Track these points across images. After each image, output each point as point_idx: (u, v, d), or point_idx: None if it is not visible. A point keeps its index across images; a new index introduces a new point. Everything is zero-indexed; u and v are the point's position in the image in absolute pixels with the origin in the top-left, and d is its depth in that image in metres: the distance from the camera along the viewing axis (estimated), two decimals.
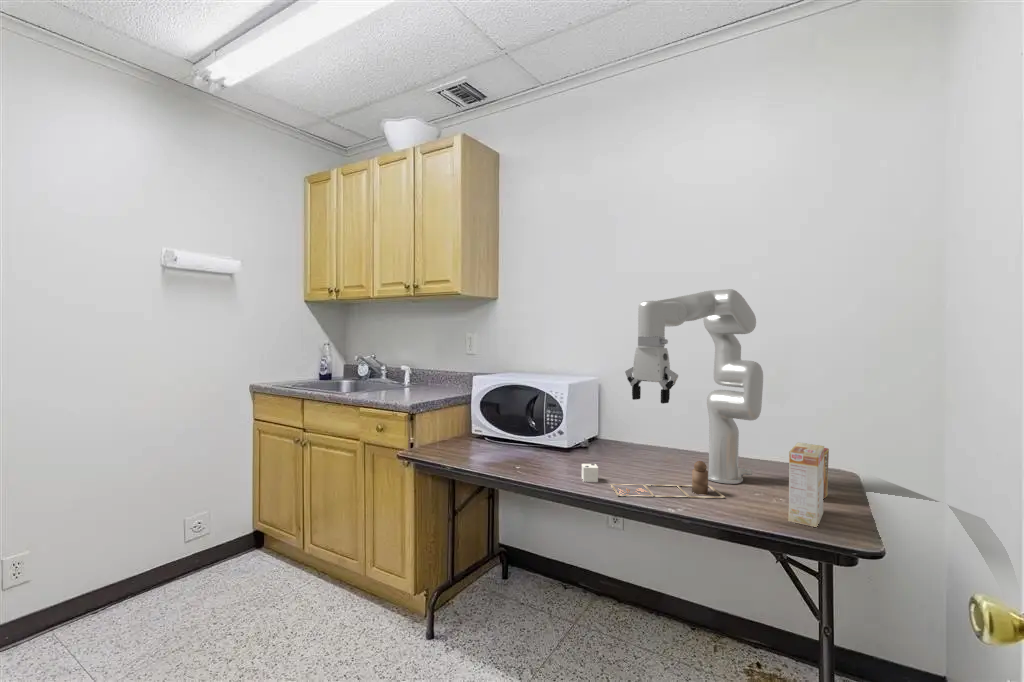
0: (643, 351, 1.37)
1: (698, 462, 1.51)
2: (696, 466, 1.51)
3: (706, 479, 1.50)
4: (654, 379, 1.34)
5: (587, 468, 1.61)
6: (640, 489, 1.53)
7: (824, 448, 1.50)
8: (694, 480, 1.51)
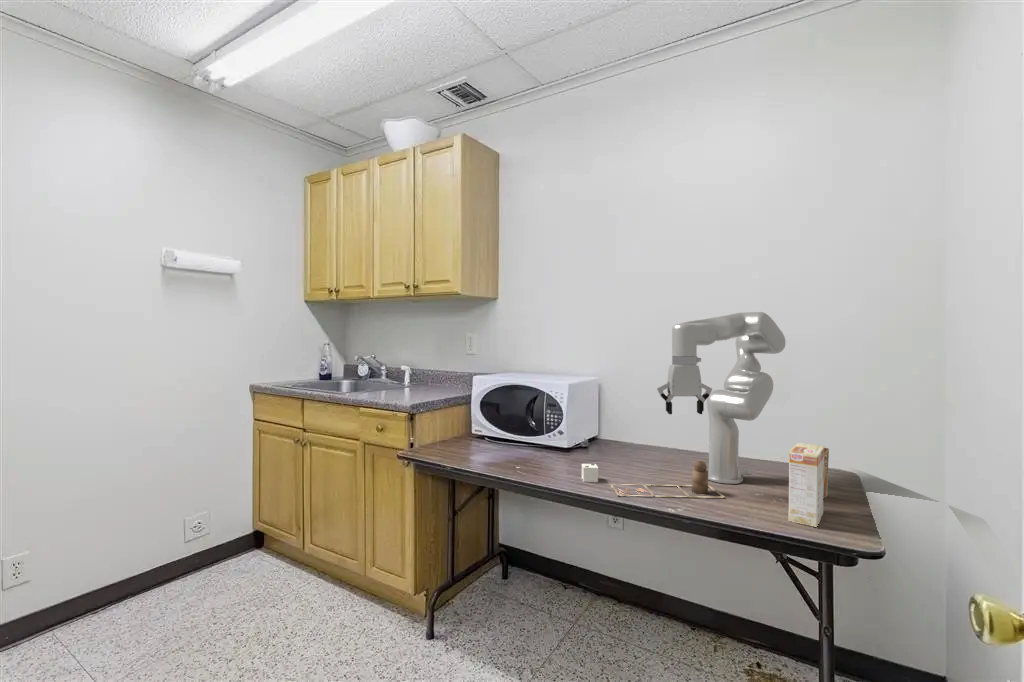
0: (684, 369, 1.51)
1: (698, 462, 1.51)
2: (696, 466, 1.51)
3: (706, 479, 1.50)
4: (695, 394, 1.51)
5: (587, 468, 1.61)
6: (640, 489, 1.53)
7: (824, 448, 1.50)
8: (694, 480, 1.51)
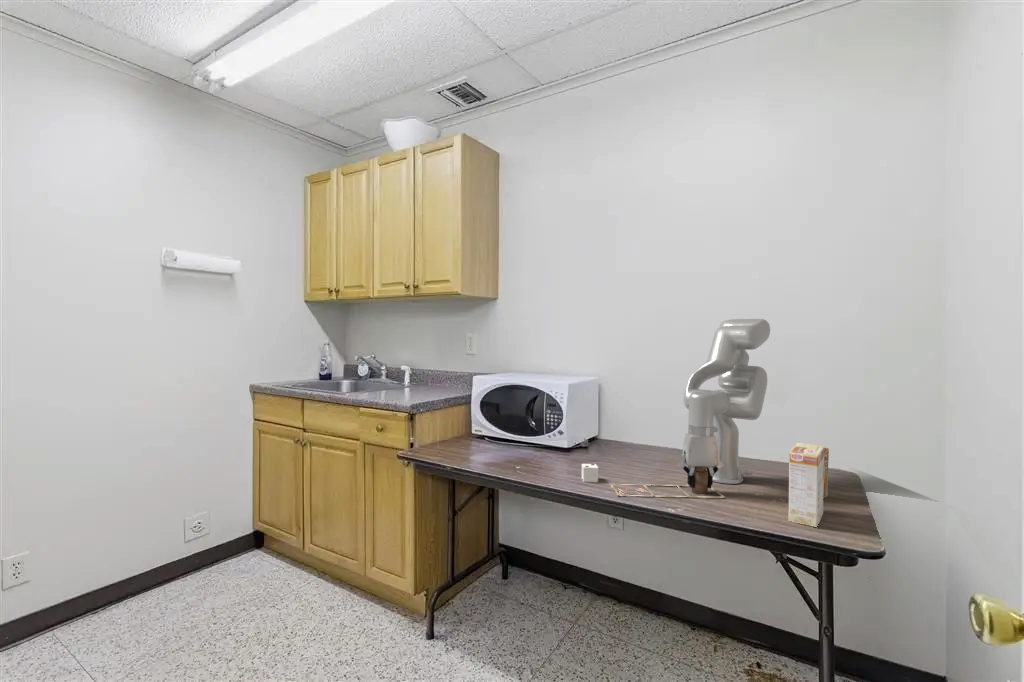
0: (701, 440, 1.49)
1: None
2: None
3: (705, 479, 1.50)
4: (711, 464, 1.50)
5: (587, 468, 1.61)
6: (640, 489, 1.53)
7: (824, 448, 1.50)
8: None
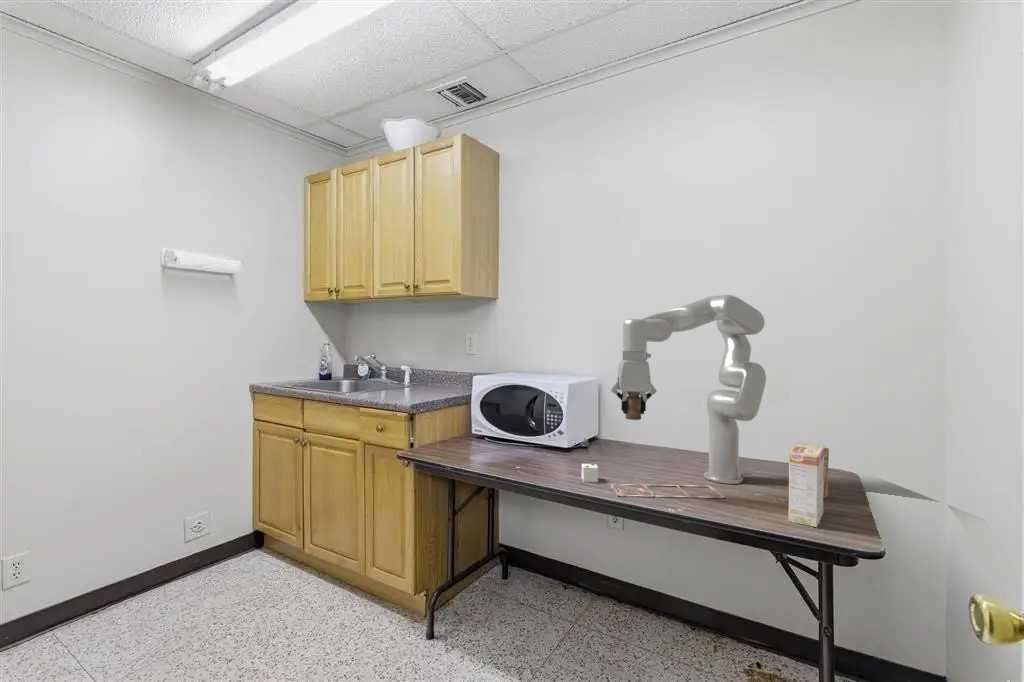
0: (633, 365, 1.49)
1: None
2: (629, 392, 1.51)
3: (638, 404, 1.50)
4: (643, 390, 1.50)
5: (587, 468, 1.61)
6: (640, 489, 1.53)
7: (824, 448, 1.50)
8: (627, 406, 1.51)
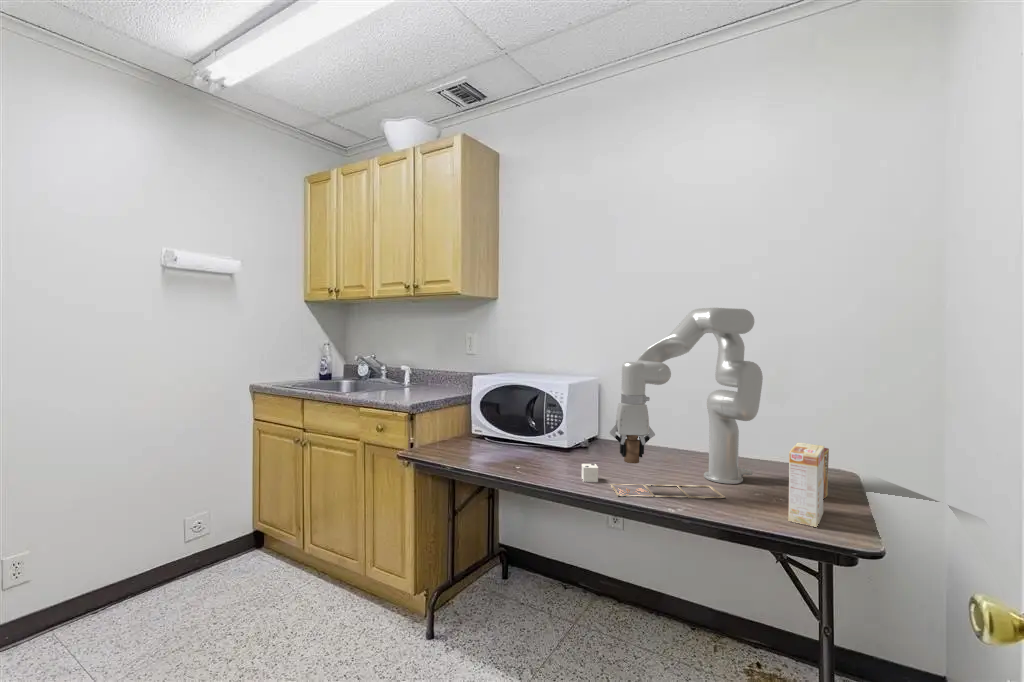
0: (632, 409, 1.49)
1: None
2: None
3: (636, 448, 1.50)
4: (642, 433, 1.50)
5: (587, 468, 1.61)
6: (640, 489, 1.53)
7: (824, 448, 1.50)
8: None
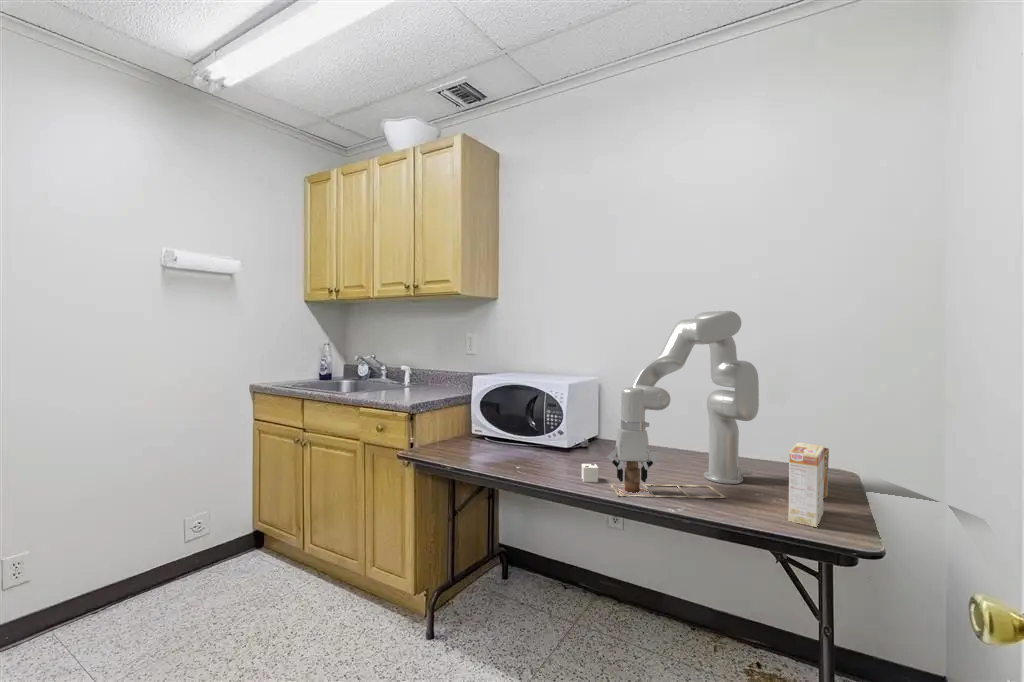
0: (632, 435, 1.50)
1: None
2: (628, 464, 1.51)
3: (637, 477, 1.50)
4: (642, 459, 1.50)
5: (587, 468, 1.61)
6: (640, 489, 1.53)
7: (824, 448, 1.50)
8: (626, 478, 1.51)
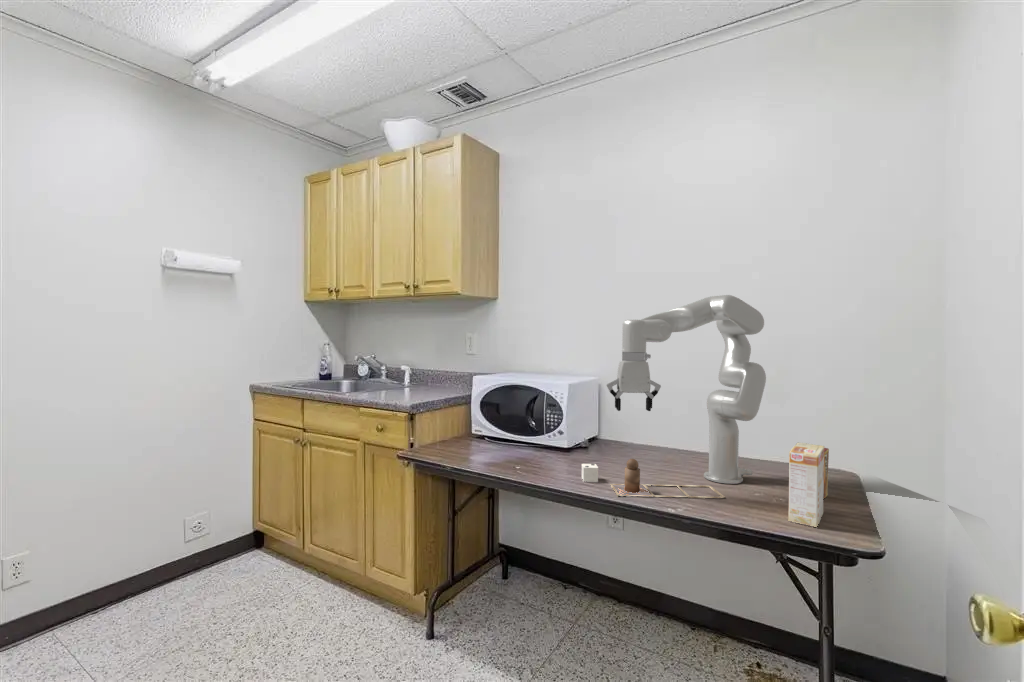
0: (633, 366, 1.49)
1: (630, 460, 1.52)
2: (628, 464, 1.51)
3: (637, 477, 1.50)
4: (643, 390, 1.50)
5: (587, 468, 1.61)
6: (640, 489, 1.53)
7: (824, 448, 1.50)
8: (626, 478, 1.51)
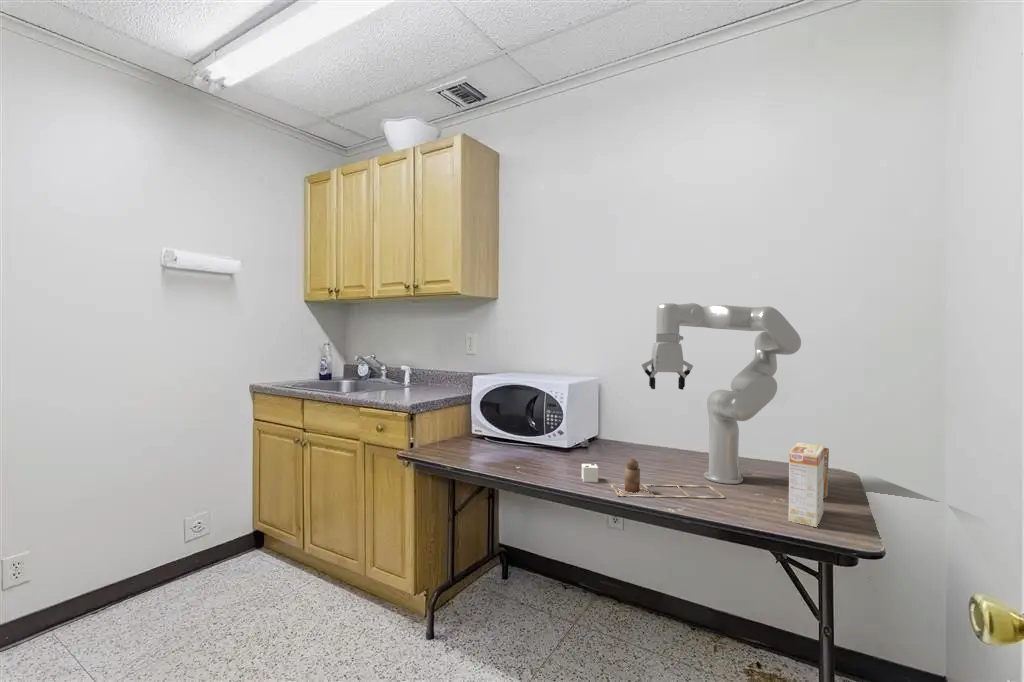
0: (667, 346, 1.59)
1: (630, 460, 1.52)
2: (628, 464, 1.51)
3: (637, 477, 1.50)
4: (677, 370, 1.60)
5: (587, 468, 1.61)
6: (640, 489, 1.53)
7: (824, 448, 1.50)
8: (626, 478, 1.51)
